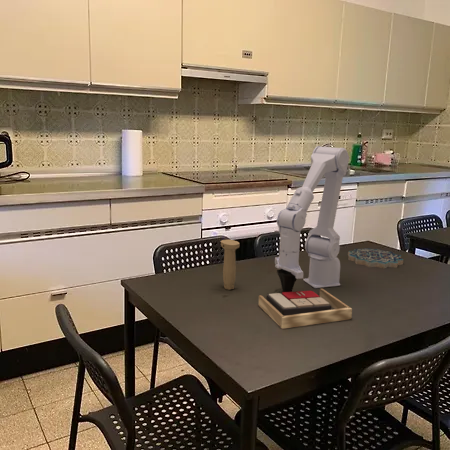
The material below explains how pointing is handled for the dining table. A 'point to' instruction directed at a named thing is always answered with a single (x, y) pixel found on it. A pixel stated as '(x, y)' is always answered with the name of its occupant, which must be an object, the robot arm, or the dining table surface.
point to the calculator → (297, 302)
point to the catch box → (336, 314)
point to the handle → (229, 263)
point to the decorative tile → (375, 258)
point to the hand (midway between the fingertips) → (287, 293)
